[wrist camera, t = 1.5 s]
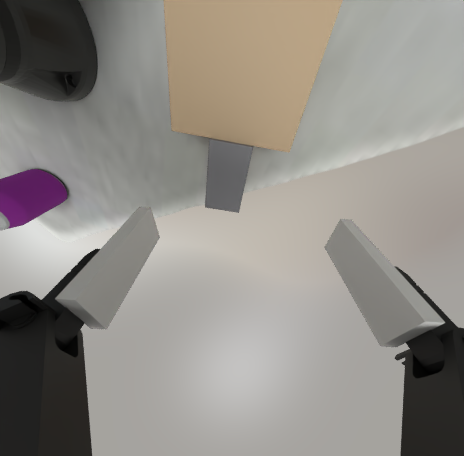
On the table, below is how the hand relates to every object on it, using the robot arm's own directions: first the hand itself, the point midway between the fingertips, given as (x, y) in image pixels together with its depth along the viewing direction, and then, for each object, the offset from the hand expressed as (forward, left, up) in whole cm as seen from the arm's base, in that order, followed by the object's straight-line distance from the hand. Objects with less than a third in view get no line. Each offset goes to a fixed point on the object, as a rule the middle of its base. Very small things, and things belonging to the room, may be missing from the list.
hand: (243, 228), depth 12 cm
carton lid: (-2, +5, -13) cm, 14 cm away
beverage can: (-40, -14, -23) cm, 48 cm away
